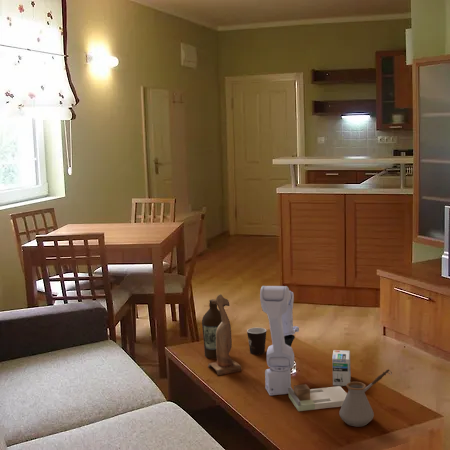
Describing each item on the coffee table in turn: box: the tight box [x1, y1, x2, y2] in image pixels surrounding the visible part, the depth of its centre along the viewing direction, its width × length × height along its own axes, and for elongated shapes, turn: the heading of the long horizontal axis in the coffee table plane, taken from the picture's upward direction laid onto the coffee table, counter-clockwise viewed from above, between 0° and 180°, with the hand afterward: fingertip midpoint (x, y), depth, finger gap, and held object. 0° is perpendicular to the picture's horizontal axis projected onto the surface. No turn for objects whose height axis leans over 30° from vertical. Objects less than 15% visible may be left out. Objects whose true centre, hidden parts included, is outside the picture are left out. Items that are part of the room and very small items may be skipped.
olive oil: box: [201, 298, 222, 360], centre depth 296 cm, size 11×11×25 cm
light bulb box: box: [331, 349, 352, 387], centre depth 262 cm, size 11×7×11 cm, turn 168°
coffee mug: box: [246, 327, 267, 356], centre depth 300 cm, size 12×9×10 cm
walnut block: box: [293, 383, 310, 401], centre depth 243 cm, size 5×5×4 cm
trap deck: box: [288, 385, 348, 412], centre depth 245 cm, size 20×13×4 cm, turn 100°
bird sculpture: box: [207, 293, 242, 376], centre depth 278 cm, size 11×12×32 cm
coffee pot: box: [338, 368, 393, 428], centre depth 229 cm, size 21×12×15 cm, turn 121°
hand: (286, 353), depth 269 cm, fingers closed
